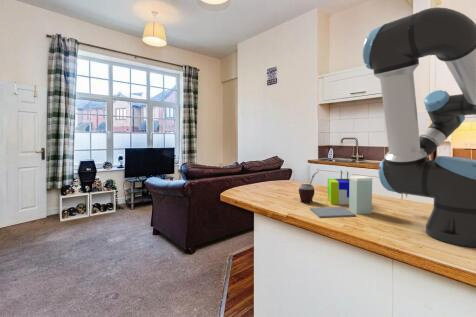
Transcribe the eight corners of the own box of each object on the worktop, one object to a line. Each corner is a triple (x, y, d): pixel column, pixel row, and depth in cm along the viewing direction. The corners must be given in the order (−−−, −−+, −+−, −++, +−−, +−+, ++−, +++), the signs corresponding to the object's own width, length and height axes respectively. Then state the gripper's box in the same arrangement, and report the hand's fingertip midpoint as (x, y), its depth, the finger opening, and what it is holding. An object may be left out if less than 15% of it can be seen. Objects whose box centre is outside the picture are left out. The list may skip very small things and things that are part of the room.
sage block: (363, 209, 104) (363, 175, 103) (371, 213, 98) (372, 178, 97) (349, 209, 104) (349, 176, 103) (356, 214, 98) (356, 178, 97)
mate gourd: (296, 200, 121) (296, 169, 120) (311, 199, 123) (311, 168, 122) (304, 204, 114) (303, 171, 113) (319, 203, 116) (319, 170, 114)
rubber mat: (342, 208, 107) (342, 206, 107) (355, 216, 96) (355, 214, 96) (310, 209, 106) (310, 208, 106) (319, 217, 95) (319, 216, 95)
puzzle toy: (354, 204, 112) (354, 182, 111) (330, 204, 114) (330, 182, 113) (349, 199, 122) (349, 178, 121) (327, 198, 124) (327, 178, 123)
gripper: (448, 149, 94) (403, 195, 95) (422, 148, 107) (382, 188, 108) (435, 135, 94) (389, 181, 94) (410, 135, 107) (370, 176, 107)
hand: (386, 185), depth 101 cm, fingers closed
